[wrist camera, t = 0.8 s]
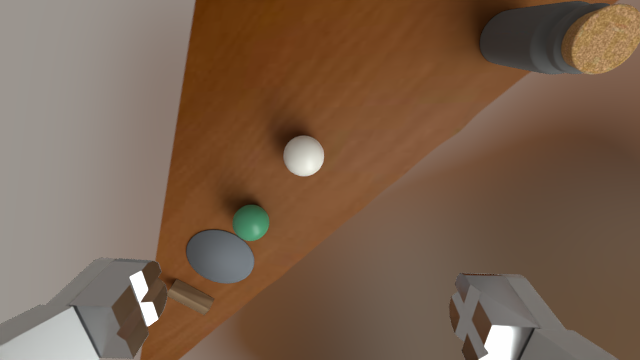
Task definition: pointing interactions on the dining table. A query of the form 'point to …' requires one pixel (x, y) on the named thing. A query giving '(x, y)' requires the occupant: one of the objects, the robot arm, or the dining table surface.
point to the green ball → (250, 222)
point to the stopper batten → (190, 297)
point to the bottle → (562, 37)
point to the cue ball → (303, 155)
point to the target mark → (220, 256)
